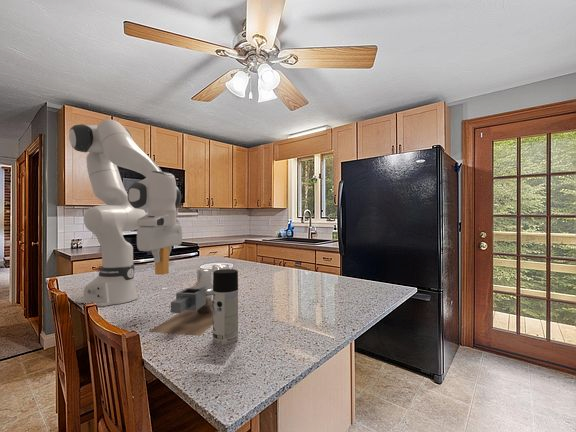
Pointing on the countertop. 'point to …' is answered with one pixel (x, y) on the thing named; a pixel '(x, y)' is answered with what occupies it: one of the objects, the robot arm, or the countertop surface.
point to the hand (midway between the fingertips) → (161, 261)
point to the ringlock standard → (195, 295)
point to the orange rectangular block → (163, 262)
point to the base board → (186, 323)
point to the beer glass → (218, 268)
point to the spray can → (225, 306)
